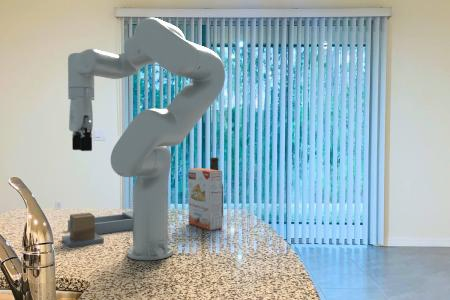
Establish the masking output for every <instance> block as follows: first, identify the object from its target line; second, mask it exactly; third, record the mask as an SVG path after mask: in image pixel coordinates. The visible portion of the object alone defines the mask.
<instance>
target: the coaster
mask: <svg viewBox="0 0 450 300" xmlns="http://www.w3.org/2000/svg"><path fill="white" fill-rule="evenodd" d="M61 241H62V242H64V244H65V245H66V246H68V248H76V247H82V246H83V247H84V246H90V245H95V244H102V243H105V238H104V237H102V236H101V235H100V234H97V233H95V238H94V239H87V240H79V241H74V240H73V239H72V238H71V237H70V234H69V235H63V236H61Z"/></svg>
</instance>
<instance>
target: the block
mask: <svg viewBox="0 0 450 300" xmlns="http://www.w3.org/2000/svg"><path fill="white" fill-rule="evenodd" d="M95 217H96V216H95V214H93V213H91V212H84V213H83V212H82V213H73V214H71V213H70V214H69V220H70V231H69V235H70V237H71V238H72V239H73V240H74V241H79V240H87V239H94V238H95Z"/></svg>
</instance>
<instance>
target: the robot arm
mask: <svg viewBox="0 0 450 300" xmlns="http://www.w3.org/2000/svg"><path fill="white" fill-rule="evenodd" d="M123 51H124V52H122V53H120V54H114V53H112V52H111V53H110V52H107V51H102V50H99V49H96V48H94V49H93V48H88V49H85V50H83V51H81V52H73V53H69V55H68V57H67V76H68V77H67V78H68V79H67V87H68V88H67V89H68V91H67V92H68V93H67V94H68V95H67V96H68V100H70V102H69V118H68V119H69V120H68V121H69V122H68V130H69V131H70V132H72V134H71V136H72V137H71V139H72V151H81V152H92V150H93V133H92V132H93V131H92V130H93V126H94V119H93V102H92V101H94V100H95V77H101V78H105V79H110V80H119V79H123V78H127V77H130V76H134V75H136V74H137V73H139V72H140V71H141V70H142V68H143V67H144V66H145V67H146V66H149V65H151V64H158V65H159V66H160V67H162V68H163V69H164V70H165V71H167V72H168V73H170V74H172V75H174V76H178V77H182V78H186V79H190V80H191V82H190V83H188V84H187V85H186V86H184V87H183V88H182V89H181V90H179V92H177V94H176V95H175V96H174V98H173V99H172V101H171V102H170V103H169V104H168V106H166V107H165V108H162V109H161V108H148V109H144V110H142V111H140V112H139V113H138V114H137V115H136V116H134V117H133V119H132V121H131V122H130V123H129V124H128V126H127V128H125V130H124V132H123V133H122V134H121V136H120V137H119V138H118V140H117V141H116V143H115V144H114V147H113V148H112V151H111V155H110V167H111V169H112V170H113V172H114V173H116V174H117V175H118V176H120V177H124V178H135V177H136V178H135V181H134V183H133V188H132V211H133V229H132V247H131V246H130V248H128V249H127V250H126V255H127V257H128V258H129V259H132V260H137V261H157V260H162V259H165V258H168V257H170V256H172V255H173V254H174V247H173V246H172V245H168V244H169V237H168V236H169V232H168V231H169V230H168V229H169V228H168V227H169V225H168V222H169V221H168V220H169V217H168V215H169V213H168V212H169V210H168V209H169V208H168V207H169V205H168V202H169V201H168V200H169V191H168V190H169V186H168V185H169V176H170V170H171V165H172V155H171V150H170V148H169V147H174V146H178V145H180V144H181V143H182V142H184V141H185V139H186V138H187V136H188V135H189V134H190V133H191V132H192V130H193V129H194V127H195V126H196V125H197V124H198V123H199V121H200V119H201V118H202V117H203V116H204V115H205V113H206V112H207V110H208V109H209V108H210V107H211V106H212V104H213V103H214V102H215V101H216V100H217V98H218V96H219V95H220V94H221V93H222V90H223V88H224V84H225V81H226V80H225V79H226V70H225V66H224V63H223V60H222V59H221V58H220V56H219V55H218V54H217V53H216V52H214V51H213V50H211V49H209V48H208V47H205V46H202V45H199V44H197V43H194V42H192V41H189V40H187V39H186V38H185V35H184V33H183V32H182V30H181V29H180V28H178V27H176V26H175V25H173V24H171V23H168V22H166V21H163V20H161V19H159V18H156V17H146V18H144V19H142V20H140V21H139V22H138V23H137V24H136V26H135V28H134V31H133V35H131V36H130V37H127V39H125V41H124V45H123Z"/></svg>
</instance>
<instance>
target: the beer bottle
mask: <svg viewBox="0 0 450 300" xmlns="http://www.w3.org/2000/svg"><path fill="white" fill-rule="evenodd" d="M209 161H210V168H209V169H211V170H219V157H210V160H209ZM223 216H224V185H223V183H222V217H223Z"/></svg>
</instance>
